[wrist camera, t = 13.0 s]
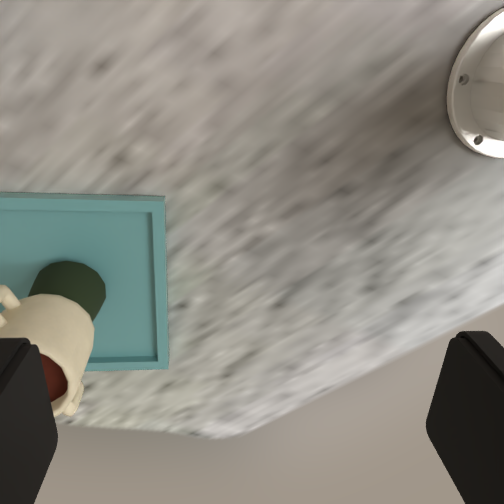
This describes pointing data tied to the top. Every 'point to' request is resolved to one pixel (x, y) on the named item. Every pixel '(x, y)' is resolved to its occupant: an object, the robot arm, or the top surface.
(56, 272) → the character mug
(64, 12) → the top surface
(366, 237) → the top surface
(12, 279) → the tray
